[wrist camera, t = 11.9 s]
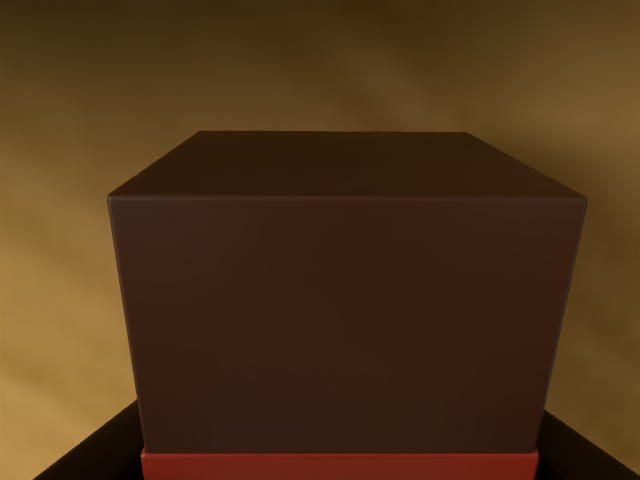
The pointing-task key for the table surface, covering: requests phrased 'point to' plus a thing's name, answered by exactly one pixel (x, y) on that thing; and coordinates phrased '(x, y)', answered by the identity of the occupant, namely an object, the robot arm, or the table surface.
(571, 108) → the table surface
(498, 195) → the chocolate bar
